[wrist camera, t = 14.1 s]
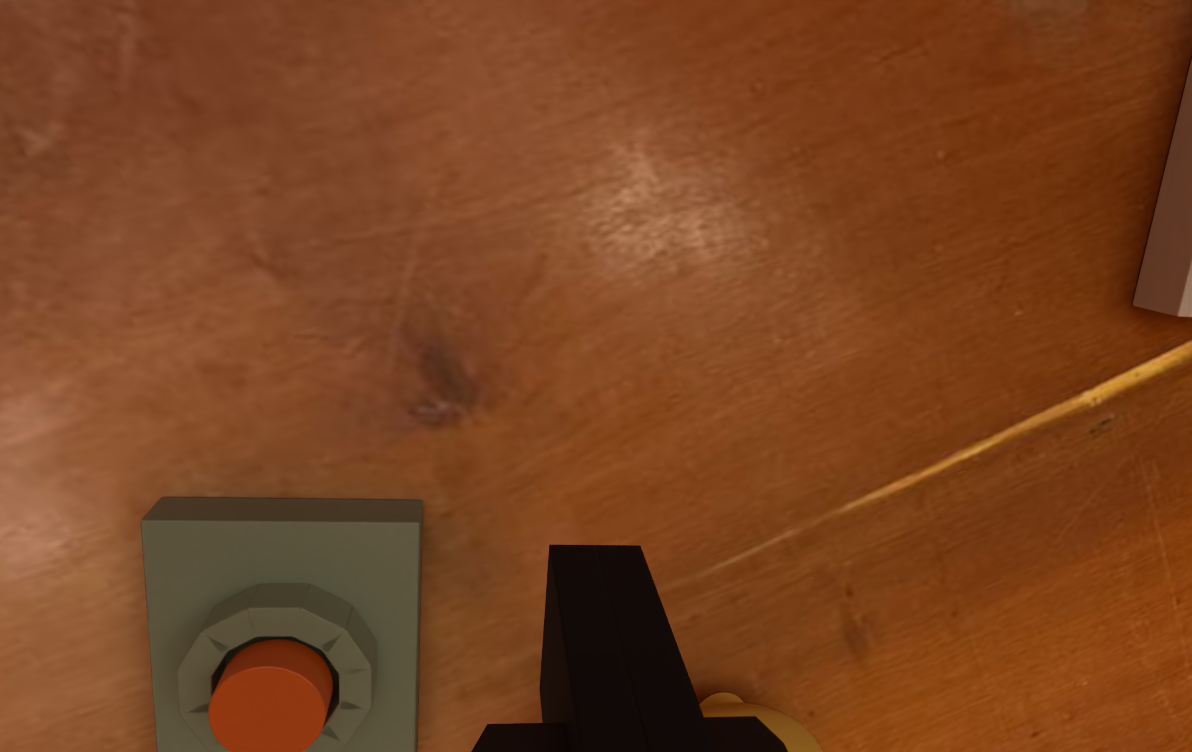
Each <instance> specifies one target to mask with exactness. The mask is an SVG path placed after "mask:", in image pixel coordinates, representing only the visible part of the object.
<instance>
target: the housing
mask: <svg viewBox="0 0 1192 752" xmlns="http://www.w3.org/2000/svg"><path fill="white" fill-rule="evenodd" d="M422 528H423V501H422V500H366V499H284V498H203V497H162V498H161V499H160V500H159V501H158V502H157V503H156V504H155V505H154V507H153V508H152V509H151V510H150V511H149V512H148V513H147V514H146V515H145V517H144V518H143V519H142V520H141V532H142V546H143V560H144V574H145V588H146V602H147V617H148V631H149V645H150V659H151V673H152V687H153V701H154V715H155V730H156V744H157V752H230V751H228V750H227V749H226V748H224V747H223V746H222V745H221V744H220V743H219V742H218V740H217V739H216V737H215V736H214V734H213V732H212V730H211V727H210V724H209V718H208V708H209V703H210V700H211V697H212V695H213V693H214V691H215V689H216V687H217V685H218V683H219V680H220V678H221V676H222V674H223V672H224V670H225V668H226V666H227V665H228V663H229V662H230V660H231V659H232V658H233V657H234V656H235V655H236V654H237V653H239V652H240V651H241V650H243V649H244V648H246V647H248V646H250V645H252V644H254V643H257V642H261V641H265V640H272V639H284V640H290V641H294V642H298V643H301V644H303V645H305V646H307V647H309V648H311V649H312V650H314V651H315V652H316V653H317V654H318V655H320V656H321V658H322V659H323V660H324V661H325V663H326V664H327V666H328V668H329V670H330V673H331V676H332V680H333V692H332V696H331V700H330V704H329V708H328V712H327V715H326V719H325V723H324V726H323V729H322V731H321V733H320V734H319V736H318V738H317V739H316V740H315V741H314V742H313V743H312V744H311V745H310V746H309V747H308V748H307V749H306V750H304V751H303V752H417V748H418V704H419V660H420V616H421V572H422Z"/></svg>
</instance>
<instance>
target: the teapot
mask: <svg viewBox="0 0 1192 752" xmlns="http://www.w3.org/2000/svg"><path fill="white" fill-rule="evenodd" d="M700 708H701V711H702V713H703V716H704V717H737V716H756V717H757V718H758V719H759V720H760V721H761V722H762V723H763V724H765V725H766V726H767V727H768V728H769V729H770V730H771V731H772V732H773V733H774V734H775V735H776V736H777V737H778V738H779V739H780V740H781V741H782V742H783V743H784V744H785V746H786V748H787V750H788V752H823V750H822V749H821V747H820V745H819V744H818V742H817V741H816V739H815V738H814V736H813V735H812V734H811V733H810V732H809V731H808V730H807V729H806V728H805V727H804V726H803V725H802V724H800V723H799V722H798V721H797V720H796V719H794V718H792V717H790V716H789V715H787V714H785V713H782V712H780V711H777V710H774V709H771V708H768V707H765V706H762V705H757V704H750V703H744V702H743V701H742V700H741V698H739V697H738V696H737V695H734V694H732V693H726V692H722V693H716V694H713V695H711V696H709V697H707V698H706V699H705V700H703V701H702V702H701V703H700Z"/></svg>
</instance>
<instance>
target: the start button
mask: <svg viewBox="0 0 1192 752" xmlns="http://www.w3.org/2000/svg"><path fill="white" fill-rule="evenodd" d="M332 692H333V680H332V676H331V673H330V670H329V668H328V666H327V664H326V663H325V661H324V660H323V659H322V658H321V656H320V655H318V654H317V653H316V652H315V651H314V650H312V649H311V648H309V647H307V646H305V645H303V644H301V643H298V642H294V641H290V640H284V639H272V640H265V641H261V642H257V643H254V644H252V645H250V646H248V647H246V648H244V649H243V650H241V651H240V652H239V653H237V654H236V655H235V656H234V657H233V658H232V659H231V660H230V662H229V663H228V665H227V666H226V668H225V670H224V672H223V674H222V676H221V678H220V680H219V683H218V685H217V687H216V689H215V691H214V693H213V695H212V697H211V700H210V703H209V708H208V718H209V724H210V727H211V730H212V732H213V734H214V736H215V737H216V739H217V740H218V742H219V743H220V744H221V745H222V746H223V747H224V748H226V749H227V750H228V751H230V752H303V751H304V750H306V749H307V748H308V747H309V746H310V745H311V744H312V743H313V742H314V741H315V740H316V739H317V738H318V736H319V734H320V733H321V731H322V729H323V726H324V723H325V719H326V715H327V712H328V708H329V704H330V700H331V696H332Z"/></svg>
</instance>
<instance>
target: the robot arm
mask: <svg viewBox="0 0 1192 752" xmlns="http://www.w3.org/2000/svg"><path fill="white" fill-rule="evenodd" d="M540 698H541V709H542V719H543V723H522V724H487V726H486V728H485V729H484V731H483V733H482V735H481V736H480V738H479V740H478V741H477V743H476V745H475V746H474V748H473V750H472V752H788V750H787V748H786V746H785V744H784V743H783V742H782V741H781V740H780V739H779V738H778V737H777V736H776V735H775V734H774V733H773V732H772V731H771V730H770V729H769V728H768V727H767V726H766V725H765V724H763V723H762V722H761V721H760V720H759V719H758V718H757V717H756V716H737V717H704V716H703V713H702V711H701V708H700V705H699V703H698V700H697V697H696V695H695V692H694V689H693V686H692V684H691V681H690V678H689V676H688V673H687V670H686V668H685V665H684V662H683V660H682V657H681V654H680V651H679V649H678V646H677V643H676V641H675V638H674V635H673V633H672V630H671V627H670V625H669V622H668V619H667V616H666V614H665V611H664V608H663V606H662V603H661V600H660V598H659V595H658V592H657V590H656V587H655V584H654V581H653V579H652V576H651V573H650V571H649V568H648V565H647V563H646V560H645V557H644V554H643V552H642V549H641V546H627V545H549V558H548V573H547V588H546V603H545V618H544V632H543V647H542V662H541V677H540Z"/></svg>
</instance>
